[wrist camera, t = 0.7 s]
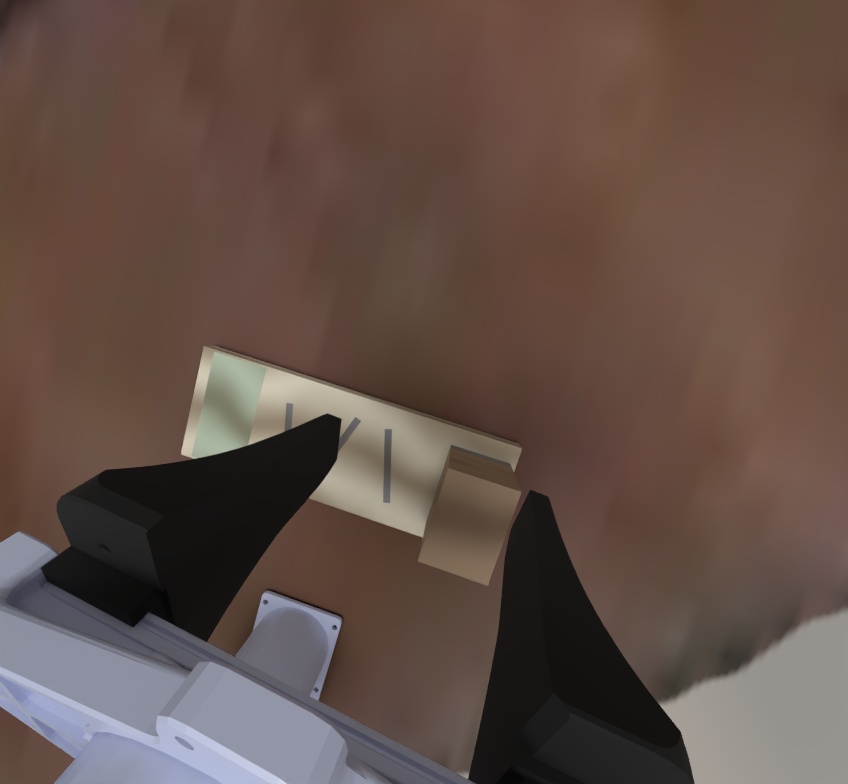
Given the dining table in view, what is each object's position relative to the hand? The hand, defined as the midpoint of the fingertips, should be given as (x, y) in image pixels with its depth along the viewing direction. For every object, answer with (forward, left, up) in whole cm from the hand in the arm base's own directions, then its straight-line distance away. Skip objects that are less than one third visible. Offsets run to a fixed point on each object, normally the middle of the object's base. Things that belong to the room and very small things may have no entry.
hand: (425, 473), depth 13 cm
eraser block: (-7, -4, -17) cm, 19 cm away
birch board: (-7, +7, -18) cm, 21 cm away
